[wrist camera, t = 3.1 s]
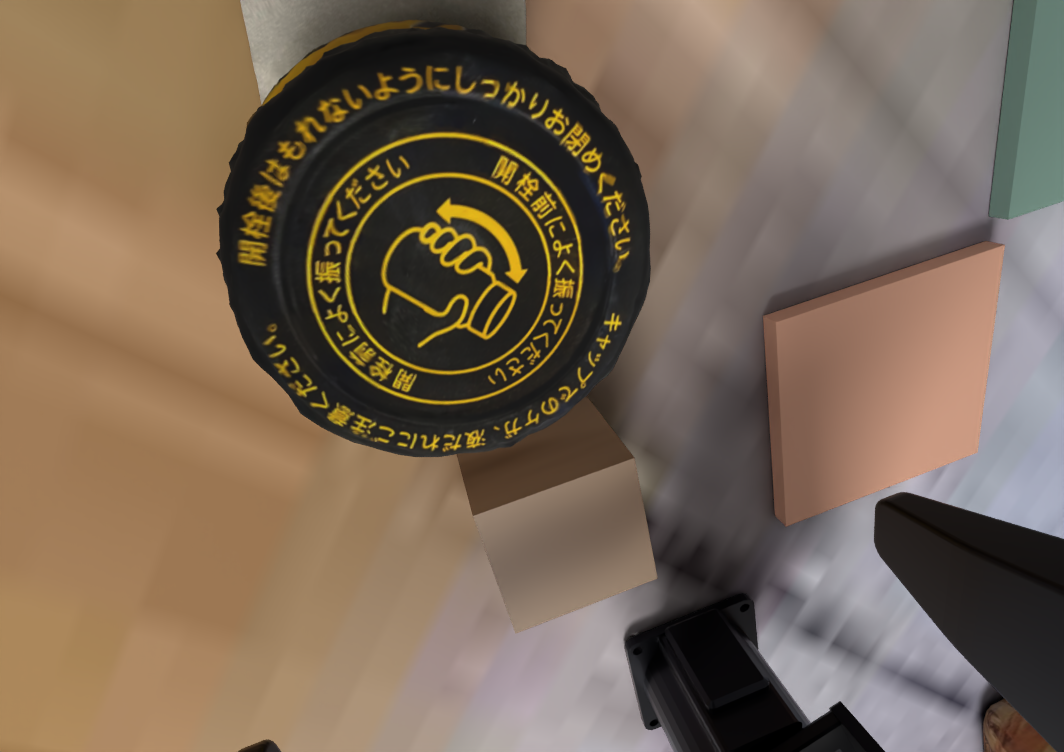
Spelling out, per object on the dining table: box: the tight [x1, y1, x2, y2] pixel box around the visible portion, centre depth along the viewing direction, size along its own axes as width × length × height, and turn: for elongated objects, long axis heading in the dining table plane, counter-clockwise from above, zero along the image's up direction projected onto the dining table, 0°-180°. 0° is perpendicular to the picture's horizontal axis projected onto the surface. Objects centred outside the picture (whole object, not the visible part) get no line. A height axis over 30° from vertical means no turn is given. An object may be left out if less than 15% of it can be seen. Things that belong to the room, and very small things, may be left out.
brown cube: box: [457, 396, 657, 633], centre depth 21 cm, size 5×5×5 cm
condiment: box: [216, 0, 651, 457], centre depth 12 cm, size 7×8×12 cm
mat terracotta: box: [763, 241, 1005, 527], centre depth 25 cm, size 10×10×1 cm
